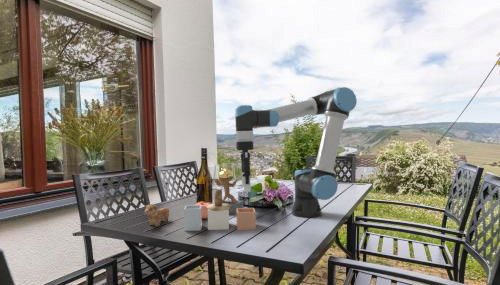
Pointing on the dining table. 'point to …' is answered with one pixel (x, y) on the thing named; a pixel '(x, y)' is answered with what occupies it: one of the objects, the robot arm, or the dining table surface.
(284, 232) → the dining table surface
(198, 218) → the light blue square vase
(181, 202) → the dining table surface
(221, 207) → the lid
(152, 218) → the figurine
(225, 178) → the figurine
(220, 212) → the cream square box
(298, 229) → the dining table surface
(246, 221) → the terracotta pot
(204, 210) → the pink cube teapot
